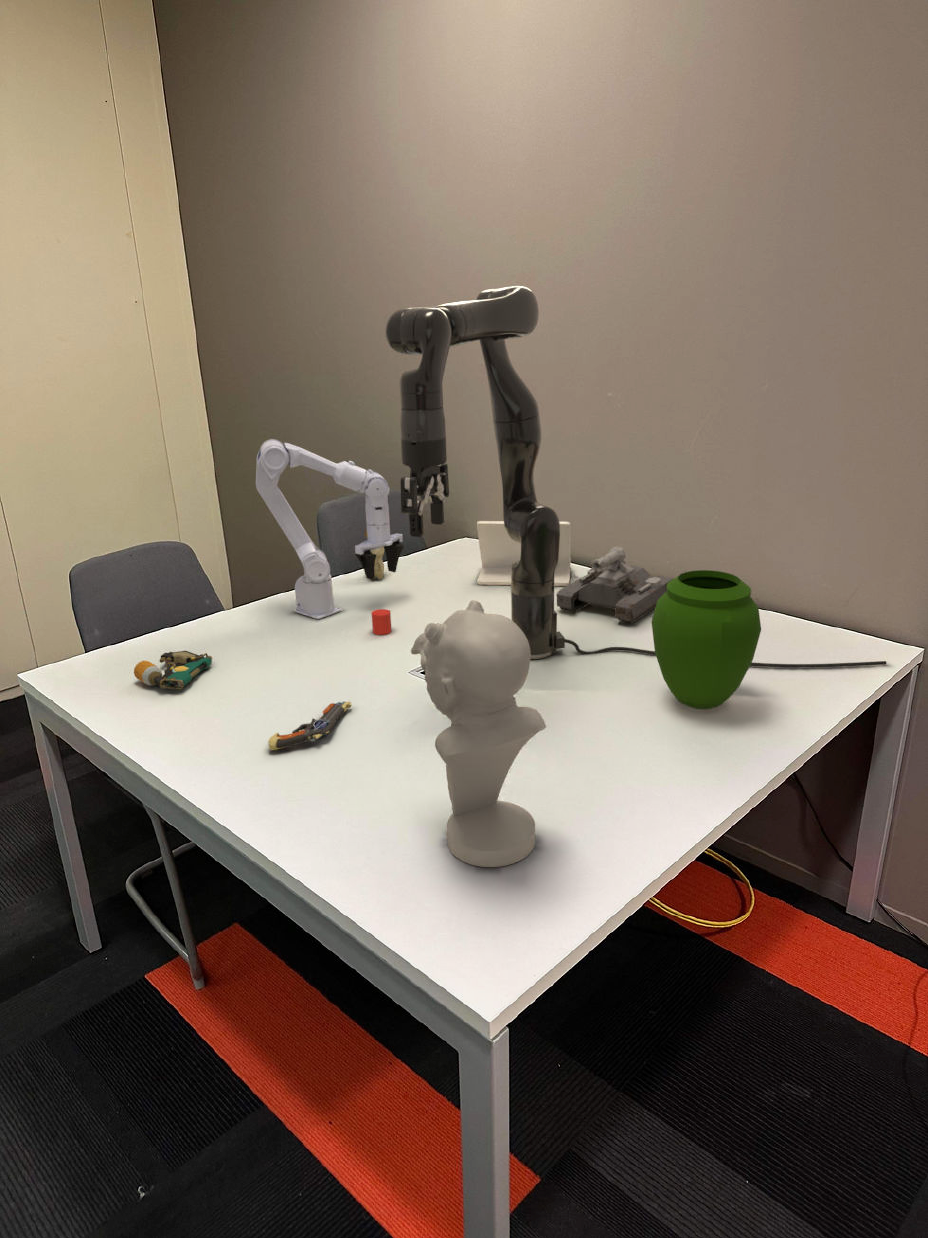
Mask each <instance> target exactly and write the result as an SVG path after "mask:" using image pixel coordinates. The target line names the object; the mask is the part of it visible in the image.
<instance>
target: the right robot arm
mask: <svg viewBox="0 0 928 1238" xmlns="http://www.w3.org/2000/svg"><path fill="white" fill-rule="evenodd" d="M539 314H540V311H539V303H538V300H537V297H536V295H535V293H534V292H533V291H532V290H531V289H530V288H528V287H526V286H520V285H515V286H513V285H511V286H506V287H498V288H490V289H484V290H482V291H480V292H479V293H478V294H477V297H476V299H475V300H461V301H453V302H447V303H442V304H439V305H434V306H427V307H426V306H425V307H407V308H400V309H397V310H396V311H394V312H393V313H392V314H391V315H390V316H389V317H388V319H387V321H386V324H385V330H384V331H385V332H384V335H385V339H386V342H387V343H388V345H389V347H390V348H391V349H392V350H393V351H395V352H396V353H398V354H400V355H409V356H410V355H411V356H412V355H419V356H420V355H421V359H420V362H419V366H418V367H417V368H414V369H410V370H407V371H405V372H403V373H402V374H400V377H399V397H400V398H399V399H400V402H399V403H400V417H399V432H400V444H401V445H400V446H401V447H400V448H401V449H400V451H401V463H402V465H404V466H407V467H409V469H410V470H409V476H401V478H400V511H401V514H406V515H408V521H409V535H410V536H411V537H412V538H413V537H415V538H421V537H422V536H424V517H423V515H424V514H423V511H424V509H425V508H424V507H425V505H426V504H427V503H428V502H430V504H429V505H430V522H431V524H432V525H440V526H441V525H443V524H444V523H445V513H444V512H445V511H444V503H446V498H448V497H449V496H450V484H449V483H450V482H449V467H448V464H447V463H446V462H447V461H448V459H447V457H448V456H447V436H446V435H447V432H446V431H447V429H446V418H445V411H444V394H443V391H444V390H443V381H444V377H445V370H446V365H447V360H448V356H449V351H450V348H453V347H454V348H455V347H458V346H462V345H466V344H469V343H473V342H476V341H479V344H480V349H481V353H482V357H483V362H484V367H485V371H486V377H487V382H488V390H489V396H490V403H491V411H492V422H493V429H494V430H493V431H494V437H495V441H496V448H497V453H498V454H497V455H498V461H499V462H498V463H499V470H500V476H501V477H500V478H501V485H502V515H503V521H504V526H505V529H506V532H507V534H508V535H509V537H510V538H511V539H513V540H514V541H516V542H518V543H520V544H521V556H520V560H518V561H516V562H514V563H513V564H512V566H511V585H510V588H511V589H510V597H511V599H510V603H511V604H510V606H511V607H510V609H511V610H510V615H511V617H510V619H511V620H512V621H513V622H514V623H515V624H516V625H517V626H518V627H519V628H520V629H521V630H522V632H523V633H524V634H525V636H526V638H527V640H528V643H529V646H530V652H531V653H530V655H531V656H530V660H540V659H545V658H548V657H550V656H552V655H557V654H558V653H557V650H558V649H560V650H561V649H565V648H566V644H569V645H571V646H573V647H574V648H575V650H576V652H577V653H579V654H581V655H595V654H602V653H606V652H611V651H625V652H633V653H640V654H646V655H653V656H654V655H655V656H656V654H655V650H648V649H641V648H634V647H626V646H609V647H605V648H600V649H598V650H593V651H586V650H582V649H581V648H580V647H579V645H578V644H577V642H575V641H573V640H571V639H567V638H566V637H565V636H564V635H563V634H562V632H561V631H558V613H557V612H556V611H555V586H554V572H555V569H556V566H557V563H558V558H559V542H560V523H559V522H560V520H559V516H558V514H557V512H556V511H555V510H554V509H553V508H552V507H550V506H548V505H544V504H542V503H539V502H538V498H537V493H536V489H535V488H536V487H535V480H534V479H535V478H534V474H535V473H534V472H535V466H536V462H537V459H538V455H539V453H540V448H541V443H542V428H541V427H542V425H541V419H540V409H539V406H538V402H537V400H536V398H535V396H534V394H533V393H532V391H531V390H530V389H529V387H528V386H527V385H526V383H525V382H524V380H523V379H522V378H521V377H520V376H519V374H518V372H517V371H516V369H515V367H514V366H513V364H512V362H511V359H510V357H509V356H510V355H509V352H508V349H507V344H506V340H511V339H521V338H524V337H527V336H529V335H530V334H532V333H533V332H534V331H535V329H536V327H537V325H538V321H539ZM887 662H888V661H886V660H880V661H879V660H878V661H876V660H875V661H860V662H859V661H857V662H836V663H835V662H833V663H771V662H770V663H767V662H752V663H751V665H750V667H759V668H760V667H762V668H763V667H764V668H788V669H790V668H791V669H792V668H794V669H797V668H798V669H799V668H801V669H803V668H804V669H807V668H810V669H811V668H815V669H816V668H841V667H843V668H844V667H845V668H846V667H863V666H884V665H887Z"/></svg>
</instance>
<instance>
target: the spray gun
mask: <svg viewBox="0 0 928 1238" xmlns="http://www.w3.org/2000/svg"><path fill="white" fill-rule="evenodd" d="M212 660H213V657H212V656H211V655H208V653H207V652H205V653H201V654H197V653H194V652H192V651H191V652H190V651H188V650H180V651H169V652H164V653H162V654H161V655H160V658H159V660H158V662H159V663H161V664H163V663H165V664H166V668H165V670H163V672H164V674H163V673H162V669H160V668H159V666H157V665H156V664H154V663H152V662H151V661H149V660H141V661H139V662H138V663H136V665H135V666H134V668H133V675H134V677H135V678H136V679H137V680H139V681H140V682H142V683H143V684H145V685H147V686H155V685H157V686H158V687H160V688H161V689H171V690H172V689H173V690H182V689H184V687H185V686H186V685H188V684H189V683H190V682H191V681H192V679H193V678H195V677H196V676H197V675H198V674H200V673H201V672H202V671H203V670H206V669H208V668H209V667H210V666H211V665H212V662H213V661H212ZM178 663H179V664H181V665H179V666H176V665H177V664H178Z"/></svg>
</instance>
